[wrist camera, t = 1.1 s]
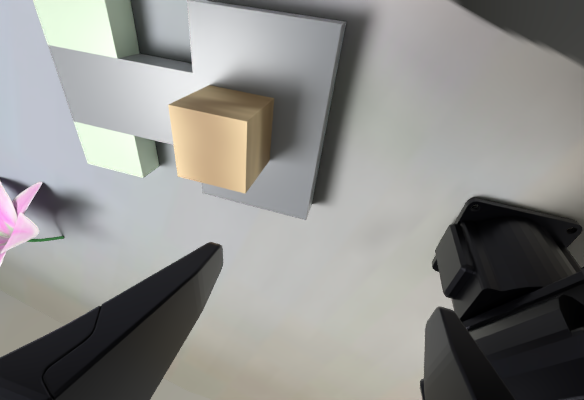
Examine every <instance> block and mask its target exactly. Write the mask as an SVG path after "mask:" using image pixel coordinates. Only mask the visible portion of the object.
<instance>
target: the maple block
mask: <svg viewBox="0 0 584 400" xmlns="http://www.w3.org/2000/svg"><path fill="white" fill-rule="evenodd" d="M168 107H169V115H170V122H171V130H172V137H173V144H174V152H175V159H176V166H177V174H178V177H182V178H186V179H190V180H194V181H198V182H202V183H206V184H210V185H214V186H217V187H221V188H225V189H229V190H233V191H237V192H241V193H245V194H246V192H247V191H248V189H249V188H250V187H251V185H252V184H253V183H254V181H255V180H256V179H257V177H258V176H259V174H260V173H261V172H262V170H263V169H264V168H265V166H266V165H267V164H268V162H269V161H270V148H271V134H272V121H273V108H274V98H271V97H266V96H261V95H256V94H251V93H246V92H241V91H236V90H231V89H226V88H221V87H216V86H211V85H208V86H206V87H204V88H202V89H200V90H198V91H196V92H194V93H192V94H189V95H187V96H185V97H183V98H181V99H179V100H177V101H175V102H173V103H171V104H168Z"/></svg>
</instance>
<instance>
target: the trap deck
mask: <svg viewBox="0 0 584 400" xmlns="http://www.w3.org/2000/svg"><path fill="white" fill-rule="evenodd" d="M33 2H34V5H35V8H36V11H37V14H38V17H39V20H40V23H41V26H42V29H43V32H44V35H45V38H46V40H47V43H48V46H49V49H50V52H51V55H52V58H53V61H54V64H55V67H56V70H57V73H58V76H59V79H60V82H61V85H62V88H63V91H64V94H65V97H66V100H67V103H68V106H69V109H70V112H71V115H72V118H73V121H74V124H75V127H76V130H77V133H78V136H79V139H80V142H81V145H82V148H83V150H84V153H85V156H86V159H87V162H88V164H92V165H96V166H99V167H103V168H107V169H111V170H115V171H119V172H123V173H126V174H130V175H134V176H138V177H142V178H144V177H145V176H147V175H148V174H149V173H151V172H152V171H153V170H155V169H156V168H158V167H159V161H158V155H157V150H156V144H155V141H159V142H163V143H167V144H171V145H174V144H173V137H172V130H171V122H170V115H169V107H168V104H171V103H173V102H175V101H177V100H179V99H181V98H183V97H185V96H187V95H189V94H192V93H194V92H196V91H198V90H200V89H202V88H204V87H206V86H208V85H211V86H216V87H221V88H226V89H231V90H236V91H241V92H246V93H251V94H256V95H261V96H266V97H271V98H274V108H273V121H272V134H271V148H270V161H269V162H268V164H267V165H266V166H265V168H264V169H263V170H262V172H261V173H260V174H259V176H258V177H257V179H256V180H255V181H254V183H253V184H252V185H251V187H250V188H249V189H248V191H247V192H246V194H245V193H241V192H237V191H233V190H229V189H225V188H221V187H217V186H214V185H210V184H206V183H202V193H203V194H207V195H211V196H215V197H219V198H223V199H227V200H230V201H234V202H238V203H242V204H246V205H250V206H254V207H257V208H261V209H265V210H269V211H273V212H277V213H281V214H284V215H288V216H292V217H296V218H300V219H304V220H306V219H307V216H308V213H309V210H310V208H311V205H312V200H313V195H314V190H315V185H316V179H317V174H318V169H319V164H320V158H321V153H322V148H323V142H324V137H325V132H326V127H327V121H328V116H329V111H330V106H331V100H332V95H333V90H334V85H335V79H336V74H337V69H338V64H339V58H340V53H341V48H342V43H343V37H344V32H345V27H346V22H345V21H338V20H332V19H325V18H319V17H312V16H306V15H299V14H293V13H286V12H280V11H273V10H266V9H260V8H253V7H247V6H240V5H234V4H227V3H221V2H214V1H208V0H187V9H188V21H189V34H190V46H191V58H192V63H187V62H182V61H176V60H171V59H166V58H160V57H155V56H150V55H145V54H140V53H139V47H138V41H137V35H136V30H135V24H134V18H133V13H132V7H131V1H130V0H33Z"/></svg>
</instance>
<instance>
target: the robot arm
mask: <svg viewBox="0 0 584 400" xmlns="http://www.w3.org/2000/svg"><path fill="white" fill-rule="evenodd" d="M473 205H478V206H477V207H476V208H471V207H472V206H473ZM571 227H573V228H572V229H569V230H567V229H568V228H571ZM581 232H582V227H581V226H580V224H579V223H578V222H577V221H575V220H571V219H566V218H562V217H558V216H553V215H549V214H544V213H540V212H536V211H531V210H527V209H523V208H518V207H514V206H509V205H505V204H501V203H496V202H492V201H487V200H483V199H479V198H472V199H470V200H468V201H467V202H466V203H465V205H464V207H463V209H462V210H461V212H460V214H459V216H458V217H457V219H456V221H455V223H453V224H451V225H449V227H448V228H447V230H446V232H445V234H444V236H443V237H442V239H441V241H440V243H439V244H438V246H437V248H436V250H435V252H436V256H435V257H434V259H433V261H432V267H433V269H434V270H435V271H438V272H439V273H440V279H441V284H442V289H443V293H444V295H445V296H446V297H448V298H452V303H453V308H454V311H453V310H451V309H447V308H444V307H437V308H436V309H435V311H434V312H433V314H432V315H431V317H430V318H429V320H428V321H427V324H426V328H425V357H424V379H421V381H420V390H421V395H422V400H584V267H583V268H581V267H580V266H579V265H578V263H577V262H576V260H575V259H574V258H573V256H572V255H571V254H570V252H569V251H568V249H567V247H568V246H569V245H570V244H571V243H572V242H573V241H574V240H575V239H576V238H577V236H578V235H579V234H580V233H581ZM222 266H223V248H222V246H221V245H220V244H216V243H213V242H209V243H207V244H205V245H203V246H202V247H200V248H198V249H196V250H195V251H193V252H191V253H190V254H188V255H186V256H184V257H183V258H181V259H179V260H178V261H176V262H174V263H172V264H171V265H169V266H167V267H165V268H164V269H162V270H160V271H159V272H157V273H155V274H153V275H152V276H150V277H148V278H146V279H145V280H143V281H141V282H140V283H138V284H136V285H134V286H133V287H131V288H129V289H128V290H126V291H124V292H122V293H121V294H119V295H117V296H115V297H114V298H112V299H110V300H109V301H107V302H105V303H103V304H102V306H98V307H96V308H95V309H93V310H91V311H89V312H88V313H86V314H84V315H82V316H81V317H79V318H77V319H75V320H73V321H72V322H70V323H68V324H66V325H64V326H62V327H61V328H59V329H57V330H55V331H53V332H51V333H49V334H47V335H45V336H43V337H41V338H39V339H37V340H35V341H33V342H31V343H29V344H27V345H25V346H23V347H21V348H19V349H17V350H15V351H13V352H10V353H9V354H7V355H5V356H3V357H0V400H150V399H151V397H152V395H153V394H154V392H155V390H156V389H157V387H158V385H159V384H160V382H161V380H162V379H163V377H164V375H165V374H166V372H167V370H168V368H169V367H170V365H171V363H172V362H173V360H174V358H175V357H176V355H177V353H178V352H179V350H180V348H181V347H182V345H183V343H184V342H185V340H186V338H187V336H188V335H189V333H190V331H191V330H192V328H193V326H194V325H195V323H196V321H197V320H198V318H199V316H200V314H201V313H202V311H203V309H204V307H205V305H206V302H207V300H208V298H209V296H210V294H211V291H212V289H213V287H214V285H215V283H216V280H217V278H218V276H219V274H220V272H221V269H222Z"/></svg>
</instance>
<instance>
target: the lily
mask: <svg viewBox="0 0 584 400" xmlns="http://www.w3.org/2000/svg"><path fill="white" fill-rule="evenodd" d="M41 185H42V182H38V183H36V184H34V185H32V186H31V187H29V188H27V189H26V190H24V191H23V192H22V193H20V194H19V195H18V196H17V197H15V198H14V200H13V201H11V199H10V198H9V196H8V194H7V193H6V191H5V189H4V188H3V185H2V183H1V181H0V266H1V264H2V261H3V258H4V256H5V254H6V252H7V250H9V249H11V248H13V247H15V246H17V245H20V244H22V243H24V242H41V241H50V240H57V239H63V238H64V237H63V236H60V237H53V238H45V239H32V238H34V237H36V236H37V235H38V234H39V228H38V227H37V226H36V225H35V224H34V223H33V222H32V221H31V220H30V219H29V218H27V217H26V216H25V215H24V213H25V211H26V210H27V208H28V206H29V204H30V203H31V201H32V199H33V198H34V196H35V194H36V193H37V191H38V190H39V188H40V186H41Z"/></svg>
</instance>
